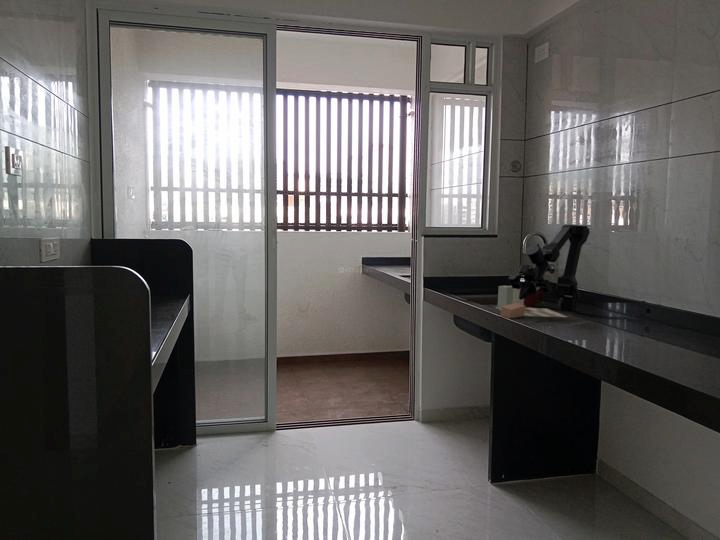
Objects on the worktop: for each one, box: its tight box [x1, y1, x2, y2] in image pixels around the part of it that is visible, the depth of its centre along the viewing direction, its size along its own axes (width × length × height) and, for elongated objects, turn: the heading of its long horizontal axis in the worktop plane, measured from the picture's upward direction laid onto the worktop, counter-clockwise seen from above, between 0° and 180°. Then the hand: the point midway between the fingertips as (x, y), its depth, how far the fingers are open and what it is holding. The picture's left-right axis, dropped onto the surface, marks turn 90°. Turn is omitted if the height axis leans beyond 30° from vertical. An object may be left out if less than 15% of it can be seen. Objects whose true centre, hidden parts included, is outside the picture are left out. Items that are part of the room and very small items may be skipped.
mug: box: [523, 288, 545, 307], centre depth 261 cm, size 10×8×10 cm
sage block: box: [496, 285, 513, 310], centre depth 247 cm, size 4×4×10 cm
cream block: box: [510, 285, 524, 305], centre depth 250 cm, size 4×4×10 cm
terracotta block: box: [499, 303, 526, 319], centre depth 227 cm, size 4×4×10 cm
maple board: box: [494, 306, 568, 318], centre depth 242 cm, size 24×23×1 cm
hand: (520, 298), depth 230 cm, fingers closed
